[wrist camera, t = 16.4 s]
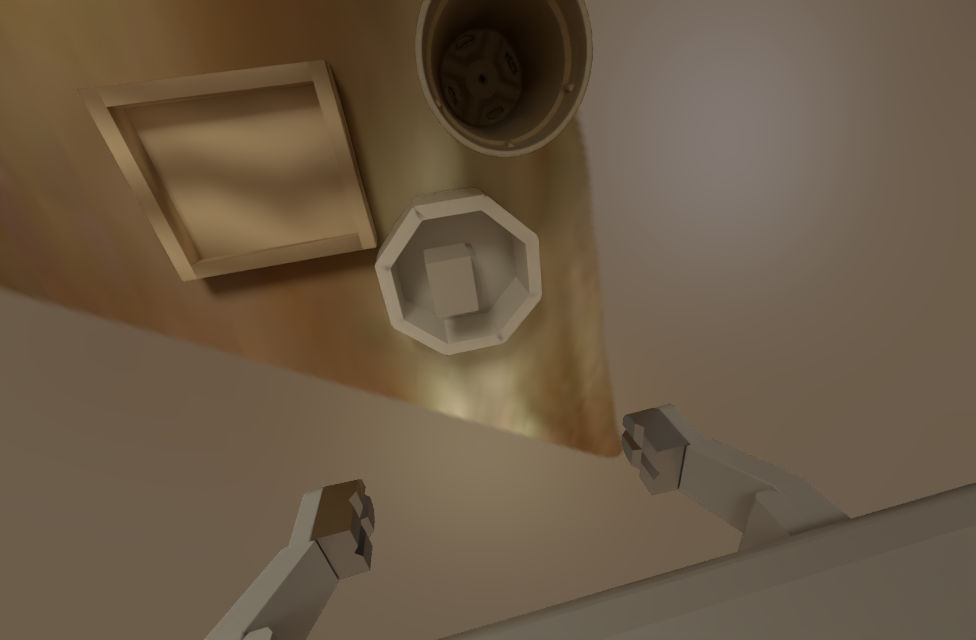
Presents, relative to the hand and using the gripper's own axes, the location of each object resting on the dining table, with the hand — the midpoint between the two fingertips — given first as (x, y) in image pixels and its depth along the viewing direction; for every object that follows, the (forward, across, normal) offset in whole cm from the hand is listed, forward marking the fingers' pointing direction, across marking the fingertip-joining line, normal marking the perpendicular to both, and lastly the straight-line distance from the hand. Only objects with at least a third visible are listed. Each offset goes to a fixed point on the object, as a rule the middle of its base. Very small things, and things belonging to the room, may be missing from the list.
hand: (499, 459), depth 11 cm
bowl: (+23, -1, +1) cm, 23 cm away
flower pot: (+24, -5, -12) cm, 27 cm away
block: (+19, 0, 0) cm, 19 cm away
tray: (+23, +12, -8) cm, 27 cm away
